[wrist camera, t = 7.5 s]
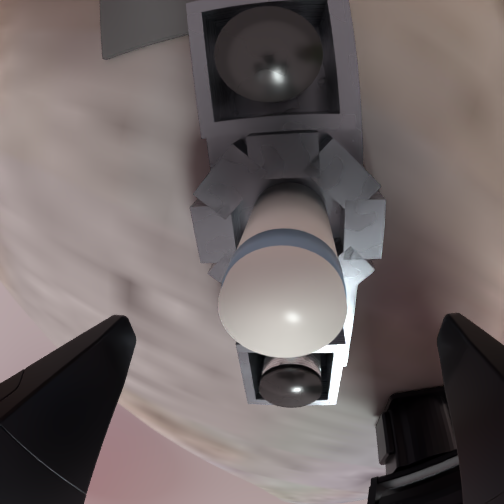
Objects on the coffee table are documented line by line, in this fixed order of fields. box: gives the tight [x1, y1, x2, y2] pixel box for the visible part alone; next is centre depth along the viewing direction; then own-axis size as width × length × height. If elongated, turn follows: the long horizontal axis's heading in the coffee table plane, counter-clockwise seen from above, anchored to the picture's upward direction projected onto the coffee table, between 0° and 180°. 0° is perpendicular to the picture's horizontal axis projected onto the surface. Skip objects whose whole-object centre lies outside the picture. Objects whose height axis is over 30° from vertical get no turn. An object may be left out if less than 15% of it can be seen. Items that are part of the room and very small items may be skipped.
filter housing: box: [186, 0, 386, 405], centre depth 13 cm, size 8×21×4 cm, turn 6°
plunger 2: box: [259, 353, 322, 408], centre depth 15 cm, size 3×3×4 cm
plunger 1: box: [214, 6, 323, 102], centre depth 9 cm, size 3×3×4 cm
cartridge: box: [218, 182, 347, 358], centre depth 11 cm, size 4×4×7 cm
